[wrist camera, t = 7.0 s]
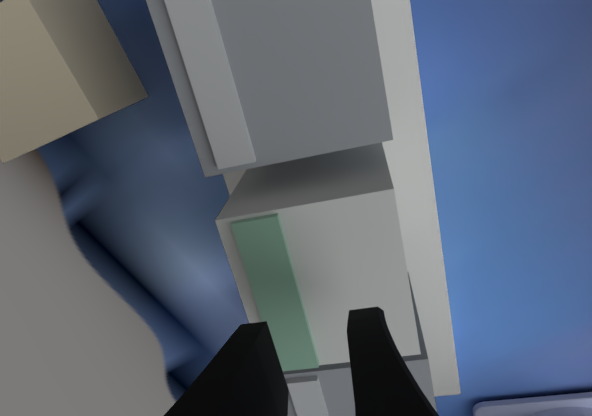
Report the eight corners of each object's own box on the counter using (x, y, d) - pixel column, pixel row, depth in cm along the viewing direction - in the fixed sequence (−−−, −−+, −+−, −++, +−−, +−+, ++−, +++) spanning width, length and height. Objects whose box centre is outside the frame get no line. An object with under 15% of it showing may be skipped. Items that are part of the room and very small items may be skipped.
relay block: (149, 96, 18) (99, 118, 14) (69, 133, 19) (3, 163, 15) (94, -7, 16) (22, -11, 13) (11, 39, 17) (-77, 47, 14)
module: (398, 248, 18) (421, 359, 12) (289, 265, 19) (264, 376, 13) (378, 127, 16) (394, 191, 10) (257, 151, 17) (212, 224, 11)
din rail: (458, 384, 22) (498, 520, 16) (298, 399, 23) (282, 530, 18) (386, -161, 14) (415, -284, 8) (147, -84, 15) (23, -140, 9)
